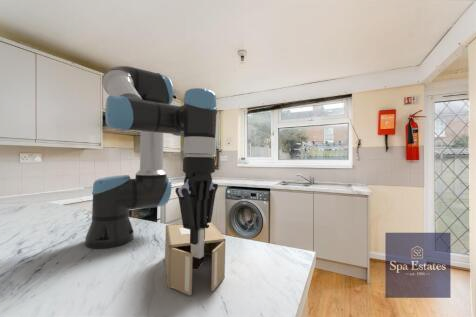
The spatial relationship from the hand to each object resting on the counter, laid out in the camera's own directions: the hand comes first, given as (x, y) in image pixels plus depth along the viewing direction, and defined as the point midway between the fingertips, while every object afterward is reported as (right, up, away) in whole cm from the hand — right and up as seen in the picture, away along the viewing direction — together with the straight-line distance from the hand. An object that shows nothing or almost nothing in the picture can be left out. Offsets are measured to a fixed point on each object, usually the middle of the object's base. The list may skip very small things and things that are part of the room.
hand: (197, 256), depth 51 cm
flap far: (+5, -7, +1) cm, 9 cm away
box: (-4, -8, +12) cm, 15 cm away
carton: (-3, -8, +10) cm, 13 cm away
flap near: (-3, -7, -2) cm, 8 cm away
